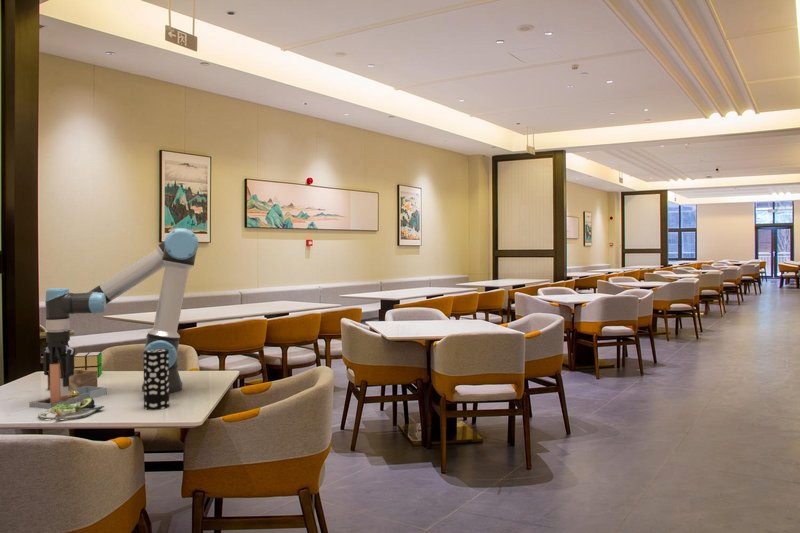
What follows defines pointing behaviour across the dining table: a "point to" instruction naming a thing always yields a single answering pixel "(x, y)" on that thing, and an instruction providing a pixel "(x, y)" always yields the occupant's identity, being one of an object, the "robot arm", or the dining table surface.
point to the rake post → (55, 383)
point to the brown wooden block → (81, 379)
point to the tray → (91, 391)
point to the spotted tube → (156, 379)
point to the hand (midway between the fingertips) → (59, 395)
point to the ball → (75, 393)
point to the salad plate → (72, 410)
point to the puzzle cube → (89, 362)
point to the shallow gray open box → (47, 403)
